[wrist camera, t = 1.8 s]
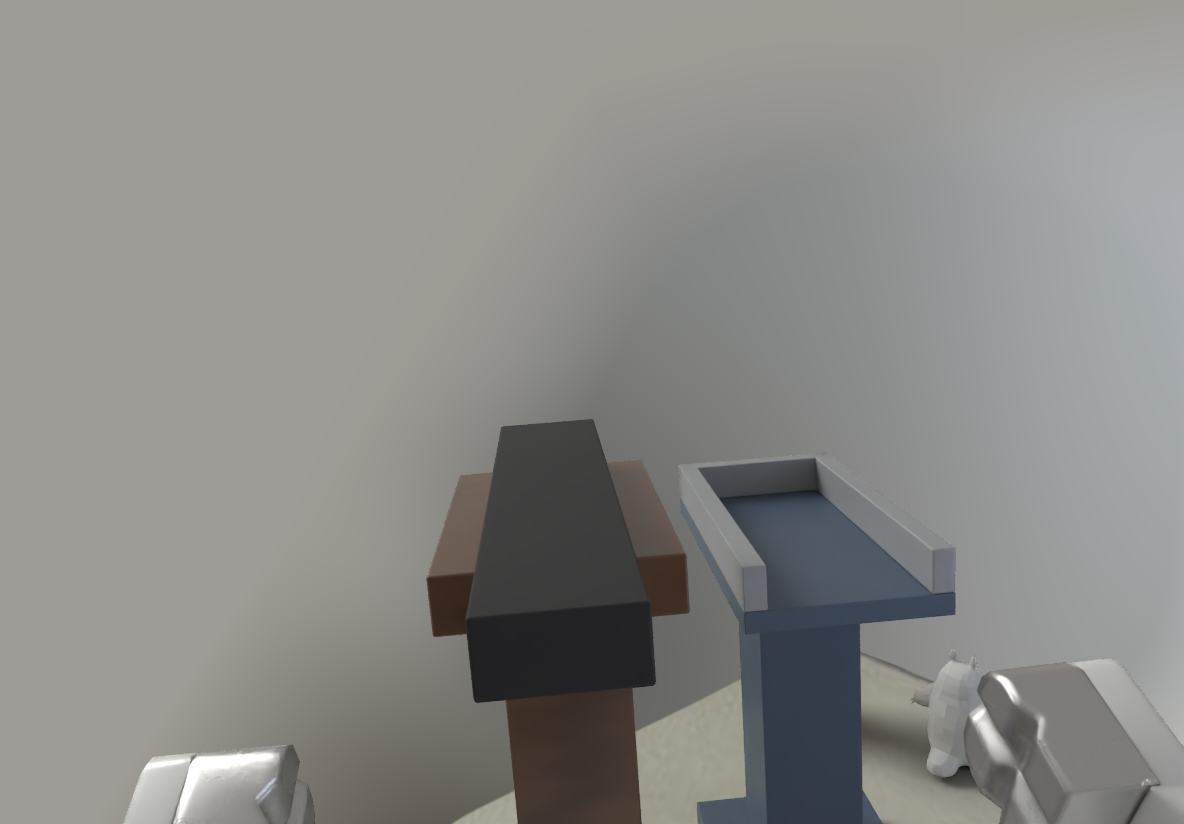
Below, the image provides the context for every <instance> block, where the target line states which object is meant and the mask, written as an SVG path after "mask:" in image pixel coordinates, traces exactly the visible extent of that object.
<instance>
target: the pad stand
mask: <svg viewBox="0 0 1184 824" xmlns="http://www.w3.org/2000/svg"><path fill="white" fill-rule="evenodd" d="M607 465H608V469H609V472H610V475H611V478H612V481H613V485H614V488H615V491H616V494H617V497H618V500H619V504H620V507H621V510H622V513H623V516H624V520H625V523H626V526H627V529H628V532H629V536H630V539H631V542H632V545H633V548H634V551H635V555H636V558H637V561H638V564H639V567H640V571H641V574H642V577H643V580H644V583H645V586H646V590H647V593H648V596H649V599H650V602H651V613H652V617H655V616H664V615H665V616H666V615H677V614H687V613H689V611H690V608H689V591H688V572H687V555H686V553H685V551H684V549H683V547H682V544H681V542H680V540H679V538H678V536H677V534H676V532H675V530H674V528H673V526H672V523H671V522H670V519H669V517H668V515H667V513H666V511H665V509H664V507H663V504H662V502H661V500H660V498H659V496H658V494H657V492H656V490H655V488H654V486H653V483H652V481H651V479H650V477H649V475H648V473H647V471H646V469H645V467H644V465H643V462H642V461H641V460H636V461H624V462H613V463H607ZM492 475H493V473H483V474H472V475H461V476H459V479H458V483H457V486H456V489H455V492H454V495H453V498H452V501H451V504H450V507H449V510H448V514H447V516H446V520H445V523H444V526H443V529H442V532H441V535H440V538H439V542H438V545H437V547H436V550H435V554H434V557H433V560H432V563H431V566H430V569H429V572H428V575H427V578H426V580H427V588H428V597H429V605H430V614H431V624H432V632H433V636H434V637H441V636H451V635H462V634H467V631H466V622H465V620H466V615H467V609H468V604H469V599H470V593H471V588H472V582H473V577H474V572H475V566H476V561H477V555H478V550H479V545H480V539H481V534H482V529H483V523H484V518H485V512H486V507H487V502H488V496H489V491H490V485H491V480H492ZM506 707H507V718H508V727H509V737H510V748H511V758H512V768H513V778H514V789H515V799H516V809H517V819H518V824H642V823H641V809H640V794H639V780H638V765H637V751H636V736H635V723H634V708H633V693H632V688H625V689H615V690H604V691H594V692H584V693H573V694H563V695H553V696H542V697H532V698H522V699H511V700H506Z"/></svg>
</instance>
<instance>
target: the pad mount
mask: <svg viewBox="0 0 1184 824" xmlns="http://www.w3.org/2000/svg"><path fill="white" fill-rule="evenodd" d="M678 467H679V484H680V485H679V486H680V497H681V498H680V503H681V513H682V515H683V517H684V519H685V521H686V523H687V525H688V527H689V529H690V530H691V532H692V534H693V536H694V538H695V540H696V542H697V544H698V546H699V548H700V549H701V551H702V553H703V555H704V557H705V559H706V561H707V563H708V564H709V566H710V568H711V570H712V572H713V574H714V576H715V578H716V580H717V582H718V583H719V585H720V587H721V589H722V591H723V593H724V595H725V597H726V599H727V600H728V602H729V604H730V606H731V608H732V610H733V612H734V614H735V616H736V618H737V619H738V621H739V637H740V660H741V683H742V706H743V730H744V753H745V776H746V797H744V798H735V799H725V800H715V801H706V802H697V814H698V824H882V822H881V820H880V819H879V817H878V815H877V814H876V812H875V810H874V808H873V807H872V805H871V803H870V802H869V800H868V798H867V797H866V795H865V793H864V792H863V790H862V742H861V676H860V624H862V623H872V622H882V621H893V620H904V619H914V618H925V617H935V616H946V615H955V547H953V546H952V545H951V544H949V543H948V542H947V541H945V540H944V539H943V538H941V537H940V536H938V535H937V534H936V533H934V532H933V531H932V530H930V529H929V528H928V527H926V526H925V525H924V524H922V523H921V522H919V521H918V520H917V519H915V518H914V517H913V516H911V515H910V514H909V513H907V512H906V511H905V510H903V509H902V508H900V507H899V506H898V505H896V504H895V503H894V502H892V501H891V500H890V499H888V498H887V497H886V496H884V495H883V494H881V493H880V492H879V491H877V490H876V489H875V488H873V487H872V486H871V485H869V484H868V483H866V482H865V481H864V480H863V479H861V478H860V477H858V476H857V475H856V474H854V473H853V472H852V471H850V470H849V469H848V468H846V467H845V466H844V465H842V464H841V463H839V462H838V461H837V460H835V459H834V458H833V457H831V456H830V455H829V454H827V453H816V454H804V455H792V456H780V457H769V458H758V459H746V460H734V461H722V462H710V463H699V464H687V465H679V466H678Z"/></svg>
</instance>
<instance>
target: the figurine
mask: <svg viewBox="0 0 1184 824" xmlns="http://www.w3.org/2000/svg"><path fill="white" fill-rule="evenodd" d="M949 657H950V659H951V661H950V662H949V663H948V664H947V665H945V666H944V667H943V669H942V670H941V671H940V673H939V675H938V678H937V681H936V682H933V683H931V684H929V685H927V686H925V687H923V688H921V689H919V690H918V691H916V692H915V693H914V696H913V698H912V699H911V700H913V701H912V703H913V702H916V703H918V704H920V705H922V706H926V707H929V712H928V723H927V733H928V739H929V742H930V745H931V751H930V753H929V756H928V759H927V769H928V770H929V771H930V772H931V773H932V774H934V775H935V776H938V777H943V778H945V777H950V776H952V775H954V774H955V773H956V772H957V770H958V768H959V767H960V766H966V765H967V766H969V765H968V762H967V758H966V755H965V745H964V734H963V732H964V729H965V725H966V721H967V718H968V714H970V713H971V712H972V711H973V710H975V709H976V708H977V707H978V706H979V705H981V704H982V703H983V702H982V700H981V698H980V696H979V694H978V693H977V688H978V686H979V683H980V680H981V677H982V676H984V674H983V672H982V671H981V670H980V669H979V668H978V666H977V664H978V663H977V659H976V656H975V655H973V656H972V658H971V660H970V664H969V663H966V662H961V661H957V660H956V657H957V655H956V652H955V649H954V648H952V650H951V652H950V653H949Z"/></svg>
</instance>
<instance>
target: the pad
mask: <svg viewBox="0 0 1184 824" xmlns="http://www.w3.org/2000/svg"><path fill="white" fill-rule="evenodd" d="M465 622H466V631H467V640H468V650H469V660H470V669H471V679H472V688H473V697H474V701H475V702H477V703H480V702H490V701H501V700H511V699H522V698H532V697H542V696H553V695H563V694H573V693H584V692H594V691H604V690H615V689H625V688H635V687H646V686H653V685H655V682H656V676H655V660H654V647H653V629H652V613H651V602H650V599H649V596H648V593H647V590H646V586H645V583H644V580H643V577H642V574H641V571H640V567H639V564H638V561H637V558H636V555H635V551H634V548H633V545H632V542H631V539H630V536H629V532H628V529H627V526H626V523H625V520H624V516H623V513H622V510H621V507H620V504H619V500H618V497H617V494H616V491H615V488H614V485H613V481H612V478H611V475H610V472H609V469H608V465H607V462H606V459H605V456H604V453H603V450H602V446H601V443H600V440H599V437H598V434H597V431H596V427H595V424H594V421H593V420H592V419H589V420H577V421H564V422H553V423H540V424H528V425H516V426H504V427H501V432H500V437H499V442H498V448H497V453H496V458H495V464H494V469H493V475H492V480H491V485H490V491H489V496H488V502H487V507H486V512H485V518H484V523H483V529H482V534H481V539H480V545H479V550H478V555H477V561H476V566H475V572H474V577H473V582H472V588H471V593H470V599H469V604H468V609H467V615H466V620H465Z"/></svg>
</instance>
